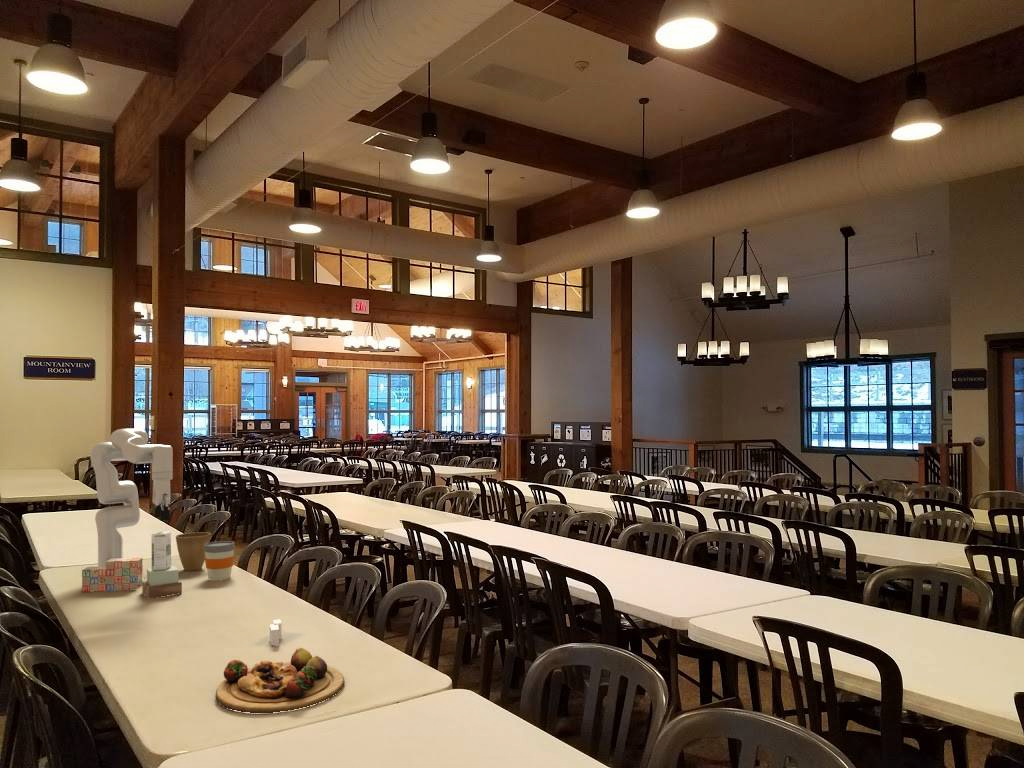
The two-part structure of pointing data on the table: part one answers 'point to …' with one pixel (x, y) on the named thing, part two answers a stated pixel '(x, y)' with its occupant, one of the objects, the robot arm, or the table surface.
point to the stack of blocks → (113, 575)
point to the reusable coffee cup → (219, 559)
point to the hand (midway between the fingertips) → (162, 518)
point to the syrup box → (161, 550)
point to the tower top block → (162, 576)
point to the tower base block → (161, 589)
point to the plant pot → (192, 549)
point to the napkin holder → (275, 632)
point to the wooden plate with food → (278, 684)
